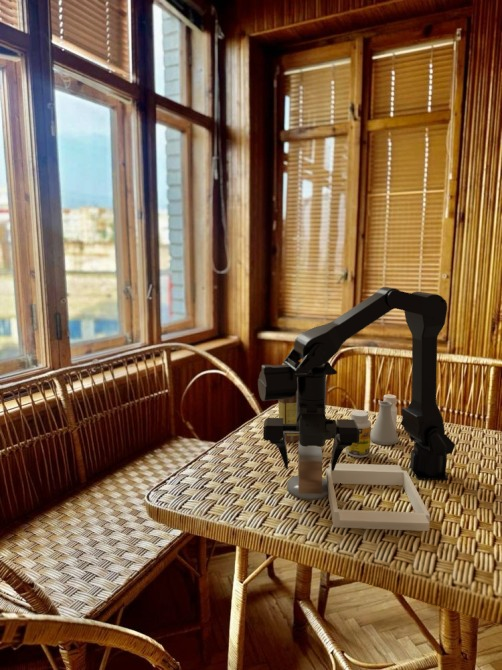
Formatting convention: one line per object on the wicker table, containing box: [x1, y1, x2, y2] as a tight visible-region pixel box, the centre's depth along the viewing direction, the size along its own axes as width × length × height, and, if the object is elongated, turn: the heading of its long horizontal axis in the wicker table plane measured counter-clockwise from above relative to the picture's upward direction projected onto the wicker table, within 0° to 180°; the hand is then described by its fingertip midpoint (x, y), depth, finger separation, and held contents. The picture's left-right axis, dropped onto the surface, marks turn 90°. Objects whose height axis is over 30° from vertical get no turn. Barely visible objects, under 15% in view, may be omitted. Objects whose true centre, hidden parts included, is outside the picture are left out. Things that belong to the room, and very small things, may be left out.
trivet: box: [286, 475, 328, 501], centre depth 98 cm, size 9×9×1 cm
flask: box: [370, 400, 400, 446], centre depth 121 cm, size 7×7×10 cm
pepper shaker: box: [383, 393, 398, 431], centre depth 128 cm, size 4×4×10 cm
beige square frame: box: [325, 462, 431, 532], centre depth 92 cm, size 17×21×3 cm
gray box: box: [297, 442, 324, 494], centre depth 97 cm, size 4×6×8 cm
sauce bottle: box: [278, 362, 299, 443], centre depth 121 cm, size 7×6×20 cm
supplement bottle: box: [345, 409, 372, 459], centre depth 113 cm, size 6×6×10 cm
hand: (309, 469), depth 97 cm, fingers open, 9 cm apart
